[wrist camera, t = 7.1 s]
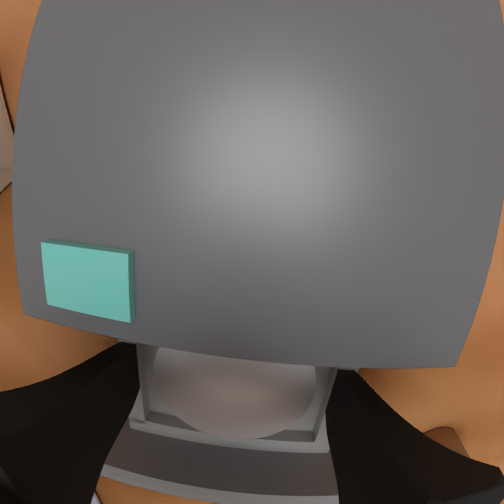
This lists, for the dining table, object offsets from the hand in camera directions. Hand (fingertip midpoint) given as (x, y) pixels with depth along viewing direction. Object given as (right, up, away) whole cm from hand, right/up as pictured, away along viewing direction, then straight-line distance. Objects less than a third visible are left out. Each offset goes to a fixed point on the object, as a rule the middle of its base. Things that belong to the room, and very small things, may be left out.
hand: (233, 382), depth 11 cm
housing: (+1, +10, 0) cm, 10 cm away
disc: (0, 0, +1) cm, 1 cm away
